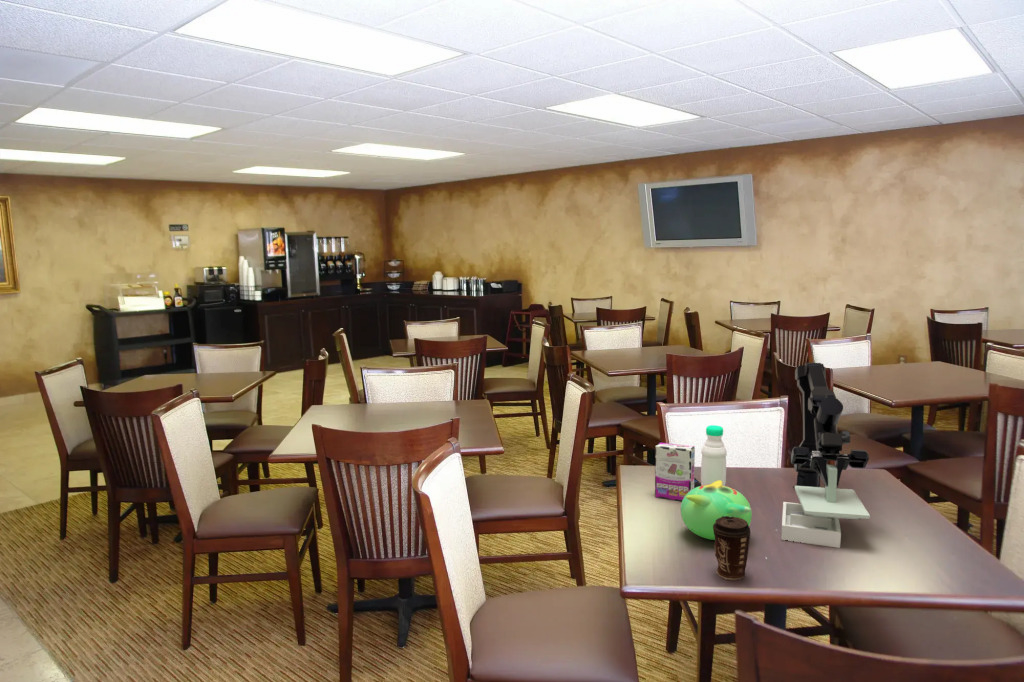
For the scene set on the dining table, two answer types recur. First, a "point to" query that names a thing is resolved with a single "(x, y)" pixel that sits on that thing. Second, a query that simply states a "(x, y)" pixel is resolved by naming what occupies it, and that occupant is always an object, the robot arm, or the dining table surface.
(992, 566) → the dining table surface
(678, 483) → the candy bar box
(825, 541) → the tub
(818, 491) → the lid
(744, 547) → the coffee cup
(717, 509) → the toy bird
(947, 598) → the dining table surface
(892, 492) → the dining table surface
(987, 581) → the dining table surface
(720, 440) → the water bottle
